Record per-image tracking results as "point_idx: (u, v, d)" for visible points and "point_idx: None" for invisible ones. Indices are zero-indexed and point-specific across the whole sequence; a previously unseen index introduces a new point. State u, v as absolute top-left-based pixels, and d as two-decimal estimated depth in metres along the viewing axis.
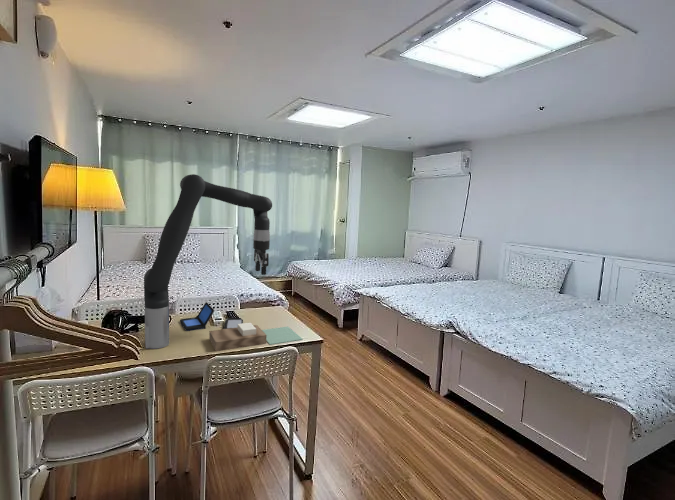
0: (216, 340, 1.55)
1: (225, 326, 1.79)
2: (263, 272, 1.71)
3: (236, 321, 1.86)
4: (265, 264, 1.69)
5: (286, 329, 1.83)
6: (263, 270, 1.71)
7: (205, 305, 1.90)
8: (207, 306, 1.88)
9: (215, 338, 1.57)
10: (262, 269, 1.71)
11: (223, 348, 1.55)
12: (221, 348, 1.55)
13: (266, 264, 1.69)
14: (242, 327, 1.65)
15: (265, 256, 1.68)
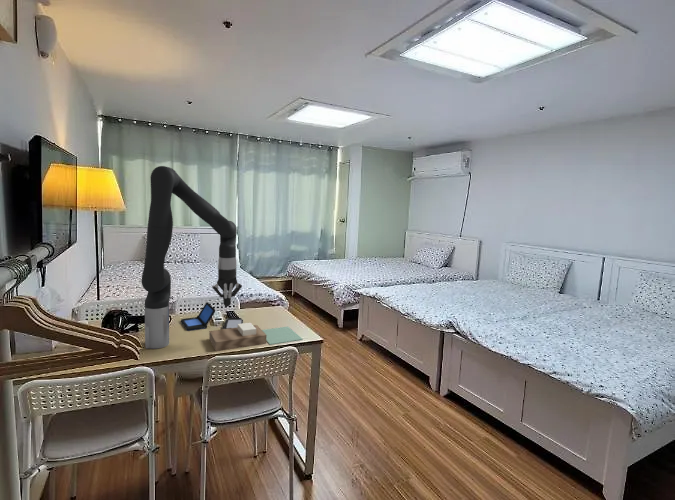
0: (216, 340, 1.55)
1: (225, 326, 1.79)
2: (230, 303, 1.61)
3: (236, 321, 1.86)
4: None
5: (286, 329, 1.83)
6: (230, 301, 1.61)
7: (206, 305, 1.90)
8: (208, 306, 1.88)
9: (215, 338, 1.57)
10: (229, 300, 1.60)
11: (223, 348, 1.55)
12: (221, 348, 1.55)
13: None
14: (242, 327, 1.65)
15: None
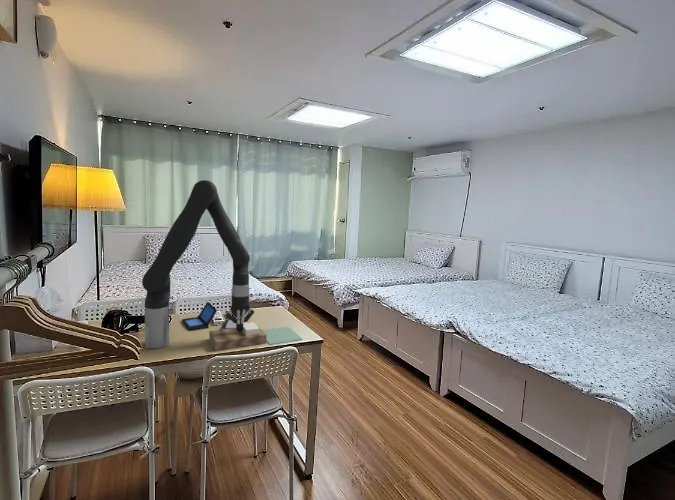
0: (216, 340, 1.55)
1: (224, 326, 1.79)
2: None
3: None
4: None
5: (286, 329, 1.83)
6: None
7: (207, 305, 1.90)
8: (209, 306, 1.88)
9: (215, 338, 1.57)
10: (241, 326, 1.64)
11: (223, 348, 1.55)
12: (221, 348, 1.55)
13: None
14: (245, 327, 1.66)
15: None
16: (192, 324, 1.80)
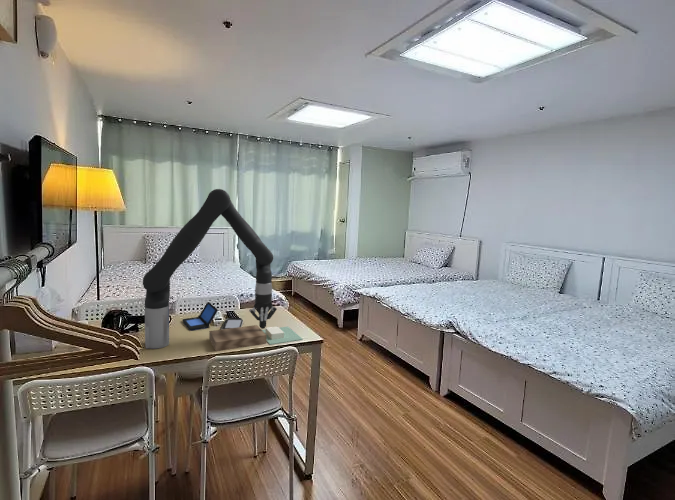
0: (216, 340, 1.55)
1: (223, 326, 1.79)
2: None
3: (235, 321, 1.86)
4: None
5: (286, 329, 1.83)
6: None
7: (207, 305, 1.91)
8: (209, 306, 1.89)
9: (215, 338, 1.57)
10: (264, 323, 1.70)
11: (223, 348, 1.55)
12: (221, 348, 1.55)
13: None
14: None
15: None
16: (193, 324, 1.80)
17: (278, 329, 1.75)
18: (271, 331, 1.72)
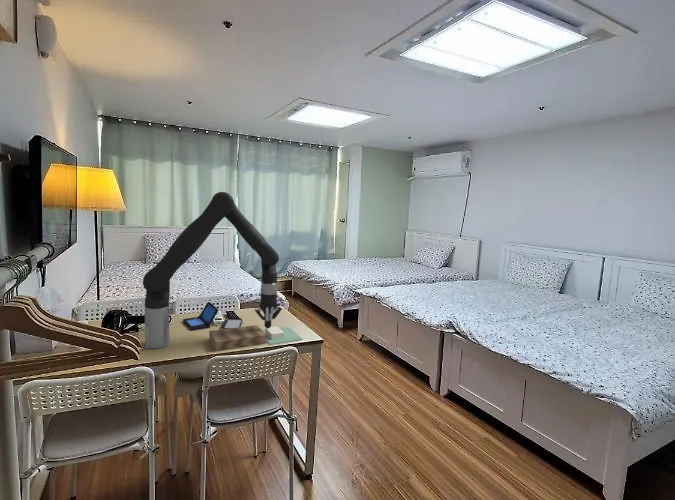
0: (216, 340, 1.55)
1: (223, 326, 1.79)
2: None
3: (235, 321, 1.86)
4: None
5: (286, 329, 1.83)
6: None
7: (208, 305, 1.91)
8: (210, 305, 1.89)
9: (215, 338, 1.57)
10: (269, 322, 1.71)
11: (223, 348, 1.55)
12: (221, 348, 1.55)
13: None
14: None
15: None
16: (194, 324, 1.80)
17: (278, 329, 1.75)
18: (271, 331, 1.72)
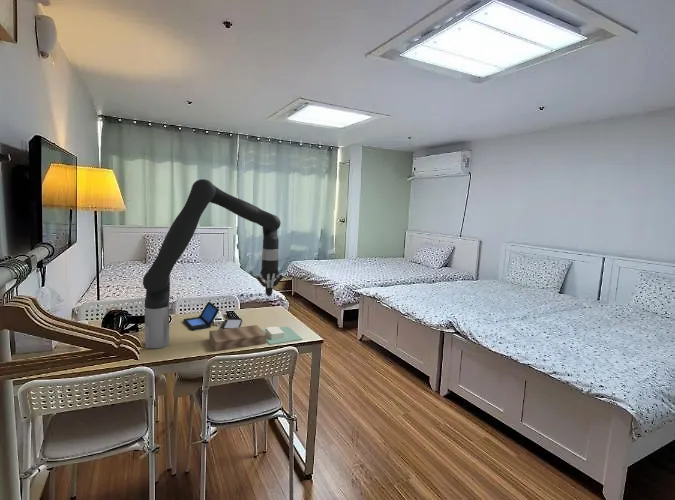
0: (216, 340, 1.55)
1: (223, 326, 1.79)
2: None
3: (235, 321, 1.86)
4: None
5: (286, 329, 1.83)
6: None
7: (208, 305, 1.91)
8: (210, 305, 1.89)
9: (215, 338, 1.57)
10: (271, 290, 1.69)
11: (223, 348, 1.55)
12: (221, 348, 1.55)
13: None
14: None
15: None
16: (194, 324, 1.81)
17: (278, 329, 1.75)
18: (271, 331, 1.72)
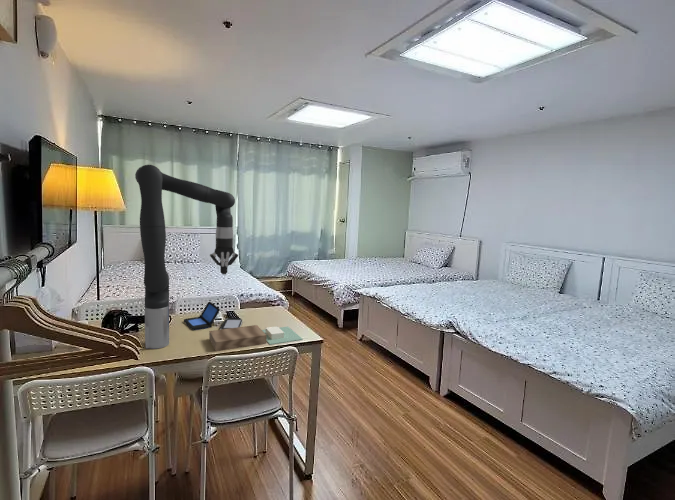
0: (216, 340, 1.55)
1: (222, 326, 1.79)
2: None
3: (235, 321, 1.86)
4: None
5: (286, 329, 1.83)
6: None
7: (209, 305, 1.91)
8: (211, 305, 1.89)
9: (215, 338, 1.57)
10: (225, 269, 1.68)
11: (223, 348, 1.55)
12: (221, 348, 1.55)
13: None
14: None
15: None
16: (195, 324, 1.81)
17: (278, 329, 1.75)
18: (271, 331, 1.72)
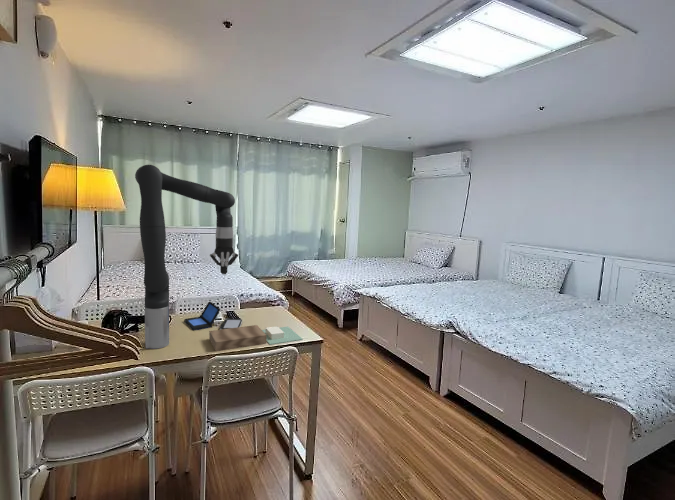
0: (216, 340, 1.55)
1: (222, 326, 1.79)
2: None
3: (235, 321, 1.86)
4: None
5: (286, 329, 1.83)
6: None
7: (209, 305, 1.91)
8: (211, 305, 1.89)
9: (215, 338, 1.57)
10: (225, 268, 1.68)
11: (223, 348, 1.55)
12: (221, 348, 1.55)
13: None
14: None
15: None
16: (196, 324, 1.81)
17: (278, 329, 1.75)
18: (271, 331, 1.72)
